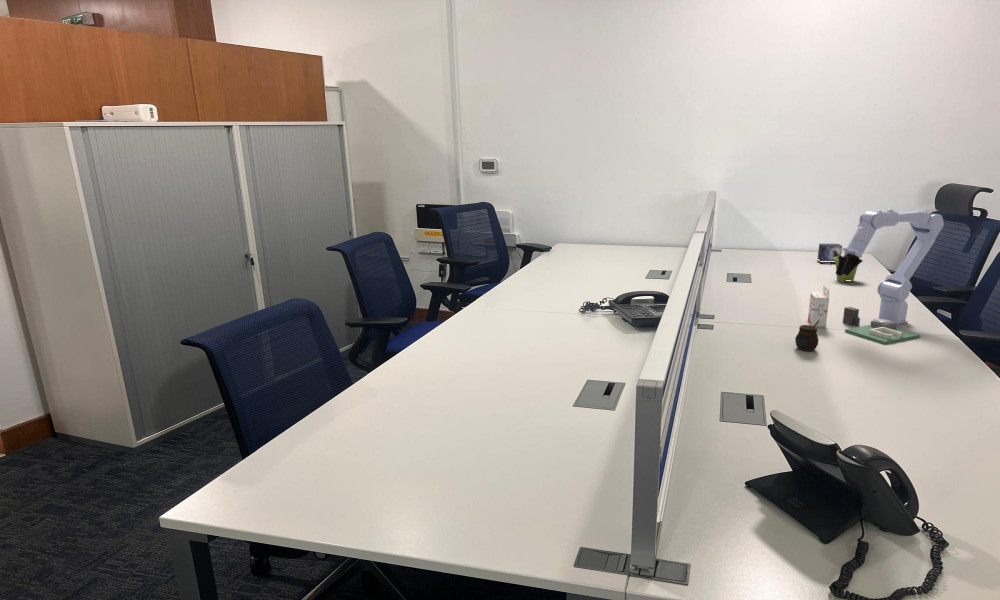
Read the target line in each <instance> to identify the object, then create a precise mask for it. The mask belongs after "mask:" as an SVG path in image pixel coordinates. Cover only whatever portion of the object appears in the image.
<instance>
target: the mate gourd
mask: <svg viewBox="0 0 1000 600" xmlns="http://www.w3.org/2000/svg"><path fill="white" fill-rule="evenodd" d="M818 322H819V321H817V323H816V324H815V325H814V326H812V325H811V324H810V325H809V324H801V325H799V329H798V330H799V331H798V332H797V334H796V336H795V341H794V343H795V346H796V348H797V349H799V350H801V351H804V352H805V351H806V352H811V351H814V350H815V349H817V347H818V345H819V337H818V336H819V335H818V333H817V332H818V328H817V327H815V326H816V325H817V324H818Z"/></svg>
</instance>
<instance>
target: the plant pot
mask: <svg viewBox="0 0 1000 600" xmlns="http://www.w3.org/2000/svg"><path fill="white" fill-rule="evenodd" d="M834 259H835V264H834V265H835V271H836V270H837V266H838V261H839V258H838V257H834ZM859 259H861V258H859ZM859 265H860V264H858V265H857V266H856V267H855V268H854V269H853V270H852V271H851V273H850V274H849V275H848V276H847V275H845V274H843V275H842V276H839V275H837V274H836V280H837V281H838V282H842V283H847V282H848V283H852V282H854V280H855V276H856V273H857V270H858V267H859ZM846 280H851V281H846Z"/></svg>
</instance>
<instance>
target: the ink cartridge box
mask: <svg viewBox="0 0 1000 600" xmlns="http://www.w3.org/2000/svg"><path fill="white" fill-rule="evenodd" d="M822 291H823V292H822ZM822 291H821V292H820V291H819V292H816V291H813V292H812V291H811V292H810V295H809V296H810V298H809V306H808V313H807V314H808V315H807V321H808V323H809V324H810V325H811V326H814V325H815V324H816V323H817V321H819V322H818V324H817V325H816V326H815V327H816V328H817V327H819V328H826V327H827V321H828V320H827V319H828V312H829V303H830V289H828V288H827V287H826V285H823V288H822Z"/></svg>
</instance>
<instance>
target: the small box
mask: <svg viewBox="0 0 1000 600" xmlns="http://www.w3.org/2000/svg"><path fill="white" fill-rule="evenodd" d="M842 249H843V245H841V244H840V243H818V252H817V259H819V260H820V261H835V259H834V257H839V256H842V251H843V250H842ZM817 261H818V260H816V262H817ZM820 261H818V263H819V264H820V263H835V262H820Z"/></svg>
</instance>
